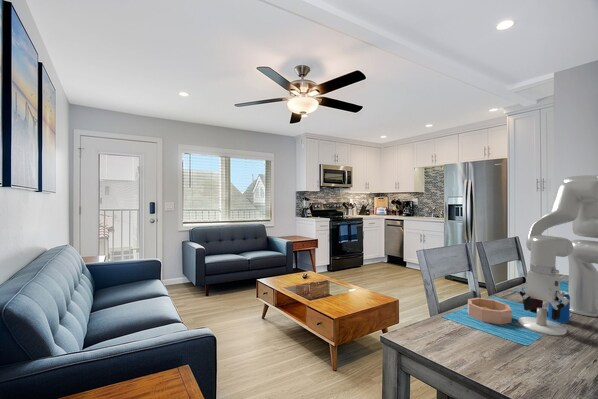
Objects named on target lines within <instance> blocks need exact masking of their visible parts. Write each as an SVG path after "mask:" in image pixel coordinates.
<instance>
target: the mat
mask: <svg viewBox="0 0 598 399" xmlns="http://www.w3.org/2000/svg"><path fill="white" fill-rule="evenodd" d="M513 325H516V326H518V327H521V328H524V329H525V330H528V331H531V332H533V333H536V334H538V335H540V336H543V337H546V336H547V337H548V336H549V335H548V334H542V333H538V332H535V331H532V330H529V329H527V328H525V327H523V326H521V325H520V324H519V323H518V322H515V323H513ZM565 328H566V330H567V332H568V331H571V329H569V328H567V327H565Z"/></svg>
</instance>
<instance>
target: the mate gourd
mask: <svg viewBox="0 0 598 399" xmlns="http://www.w3.org/2000/svg"><path fill="white" fill-rule="evenodd" d="M522 275H523V276H524V278H525V279H526V278H527V275H526V274H522ZM530 299H531V310H529V311H530V312H531V313H532V312H534V311H535V312H537V308H543V307H544V306H543V303H544V301H542V300H539V299H536V298H533V297H531V298H530ZM522 304H523V306H524V299H522Z"/></svg>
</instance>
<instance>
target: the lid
mask: <svg viewBox="0 0 598 399" xmlns="http://www.w3.org/2000/svg"><path fill="white" fill-rule="evenodd" d="M547 315H548V309H546V308H544V307H542V308H537V311H536V317H533V316H523V317H519V318H518V319H517V323H519V324H520V325H521V326H523V327H525V328H527V329H526V330H528V329H529V330H528V331H530V330H532V331H531V332H533V331H535V332H538V333H542V334H548V336H565V335H566V334H567V333H568V331H567V330H566V328H567V327H565V326H563V325H561V324H559V323H558V322H556V321H553V320H550V319H549V320H548V318H547V317H548V316H547ZM523 327H522V328H523ZM525 328H524V329H525ZM535 332H534V333H535ZM538 333H537V334H538Z"/></svg>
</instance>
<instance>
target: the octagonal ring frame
mask: <svg viewBox="0 0 598 399" xmlns="http://www.w3.org/2000/svg"><path fill="white" fill-rule="evenodd" d="M481 307H487V308H489V309H484V308H481ZM512 313H513V310H512V308H511V307H510V305H509V304H507V303H505V302H501V301H499V300H496V299H491V298H484V297H474V298H468V299H467V314H468V316H469V317H471V318H473V319H475V320H478V321H480V322H484V323H489V324H490V323H491V324H496V325H506V324H510V323H512V322H513V321H512V315H513V314H512Z"/></svg>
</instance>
